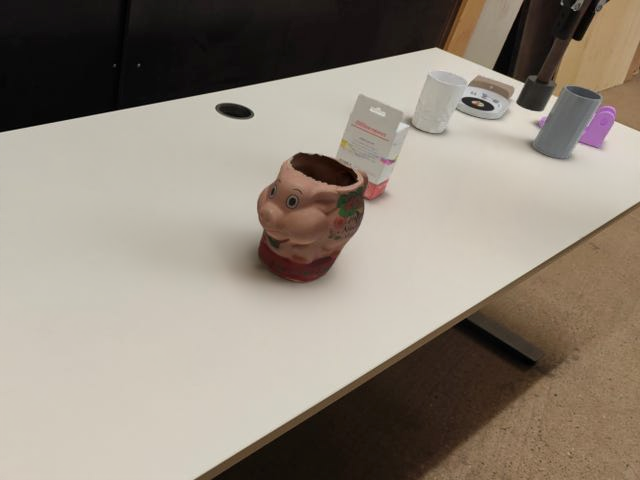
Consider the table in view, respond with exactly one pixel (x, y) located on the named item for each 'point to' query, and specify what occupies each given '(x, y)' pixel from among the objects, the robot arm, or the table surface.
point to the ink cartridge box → (373, 142)
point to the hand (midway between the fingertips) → (565, 36)
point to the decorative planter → (309, 215)
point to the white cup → (438, 100)
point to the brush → (547, 72)
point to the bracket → (596, 126)
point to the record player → (486, 98)
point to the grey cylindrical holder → (567, 121)
